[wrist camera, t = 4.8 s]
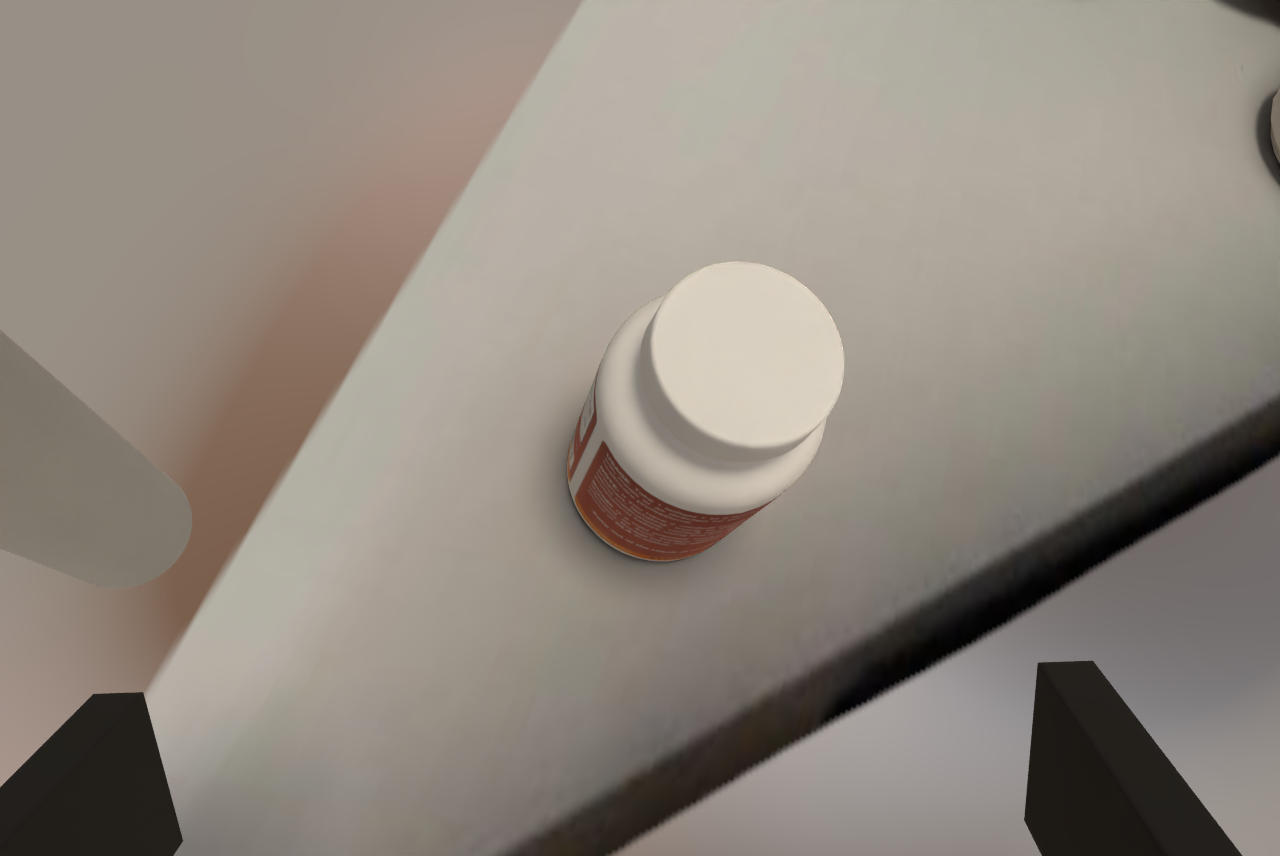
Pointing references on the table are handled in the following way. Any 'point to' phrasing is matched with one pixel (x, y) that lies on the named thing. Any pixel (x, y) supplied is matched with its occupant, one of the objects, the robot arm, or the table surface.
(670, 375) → the pill bottle
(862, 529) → the table surface
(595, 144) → the table surface
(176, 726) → the table surface
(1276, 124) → the can
